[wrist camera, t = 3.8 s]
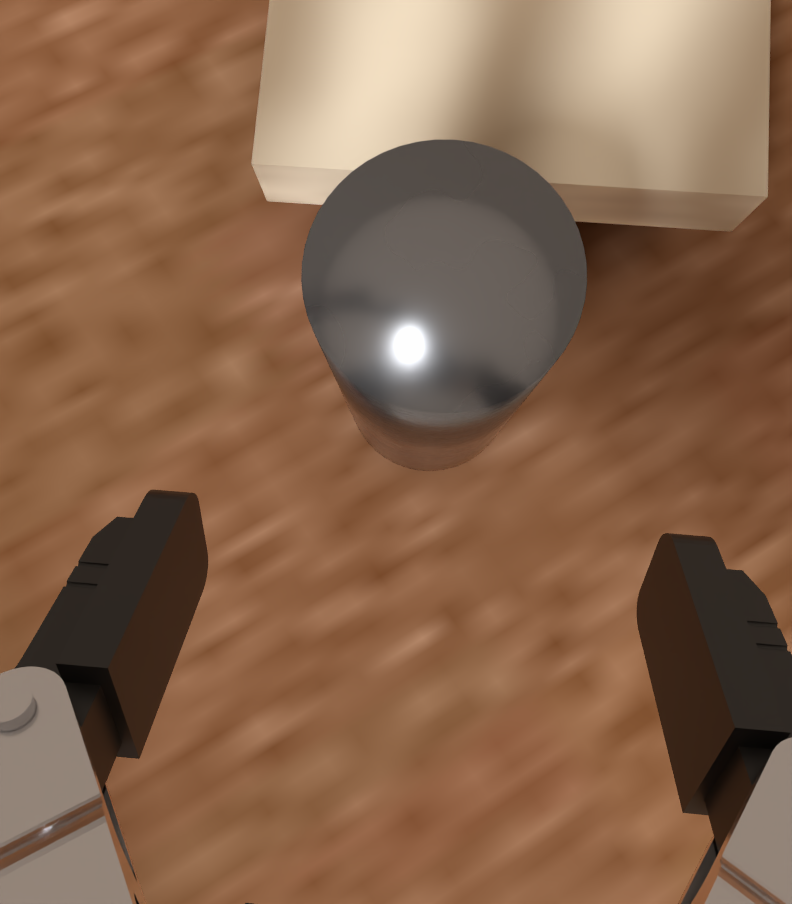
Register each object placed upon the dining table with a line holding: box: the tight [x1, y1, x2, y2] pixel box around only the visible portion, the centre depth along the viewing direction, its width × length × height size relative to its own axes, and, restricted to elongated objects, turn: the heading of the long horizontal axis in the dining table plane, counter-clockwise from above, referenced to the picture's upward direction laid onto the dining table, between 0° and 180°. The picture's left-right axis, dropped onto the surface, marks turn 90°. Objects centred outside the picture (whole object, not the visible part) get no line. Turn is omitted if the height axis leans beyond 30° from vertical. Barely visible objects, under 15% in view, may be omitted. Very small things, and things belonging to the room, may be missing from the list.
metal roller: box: [302, 139, 587, 471], centre depth 17 cm, size 5×5×10 cm
